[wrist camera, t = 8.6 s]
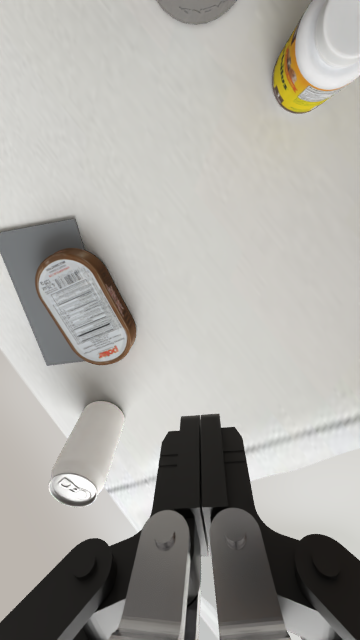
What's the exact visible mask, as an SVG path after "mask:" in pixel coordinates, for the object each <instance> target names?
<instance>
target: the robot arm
mask: <svg viewBox="0 0 360 640" xmlns="http://www.w3.org/2000/svg"><path fill="white" fill-rule="evenodd" d="M156 1H157V2H158V4H159V5H160V6H161V7H162V9H163V10H164V11H165V12H167V13H168V14H169V15H170V16H172V17H173V18H175V19H177V20H179V21H181V22H183V23H189V24H203V23H207V22H210V21H212V20H215V19H217V18H219V17H220V16H221V15H223V14H224V13H225V12H227V11H228V10H229V9H230V8H231V7H232V5H233V4H234V3H235V2H236V1H237V0H156ZM208 544H209V550H210V555H211V556H212V565H213V574H214V585H215V593H216V594H215V595H216V604H217V614H218V624H219V635H220V640H291V638H290V636H289V634H288V633H287V631H289V632H291V633H294V634H296V635H298V636H300V637H301V639H302V640H360V561H359V560H358V559H357V558H356V557H355V556H354V555H352V554H351V553H350V552H349V551H348V550H347V549H346V548H344V547H343V546H342V545H341V544H340V543H338V542H337V541H335V540H334V539H332V538H330V537H328V536H325V535H320V534H311V535H307V536H305V537H304V538H302V539H301V540H300V541H299V540H296V539H293V538H290V537H287V536H284V535H281V534H279V533H277V532H275V531H273V530H271V529H270V528H269V527H267V526H266V525H265V524H264V523H263V521H262V520H261V519H260V517H259V516H258V514H257V512H256V509H255V506H254V501H253V495H252V490H251V484H250V478H249V473H248V467H247V462H246V456H245V451H244V445H243V440H242V437H241V435H240V434H239V432H238V431H237V430H236V428H235V427H227V428H221V424H220V416H219V414H208V415H201V419H200V415H196V416H182V417H181V423H180V431H169V432H168V434H167V435H166V437H165V438H164V440H163V442H162V446H161V453H160V460H159V468H158V474H157V481H156V487H155V494H154V501H153V508H152V513H151V516H150V518H149V519H148V521H147V522H146V523H145V525H144V527H143V529H142V530H141V531H140V532H138V533H137V534H136V535H134V536H133V537H131V538H129V539H126V540H124V541H121V542H119V543H116V544H114V545H111V546H108V544H107V543H106V542H105V541H103V540H101V539H98V538H93V539H88V540H85V541H83V542H81V543H80V544H78V545H77V546H76V547H75V548H74V549H72V550H71V552H69V554H67V555H66V556H65V558H64V559H63V560H62V561H61V562H60V563H59V564H58V565H57V566H56V567H55V568H54V569H53V570H52V571H51V572H50V573H49V574H48V575H47V576H46V577H45V578H44V579H43V580H42V581H41V582H40V583H39V584H38V585H37V586H36V587H35V588H34V589H33V590H32V591H31V592H30V593H29V594H28V595H27V596H26V597H25V598H24V599H23V600H22V601H21V602H20V603H19V604H18V605H17V606H16V607H15V608H14V609H13V611H11V612H10V613H9V614H8V615H7V616H6V617H5V618H4V619H3V620H2V621H1V623H0V640H198V635H199V616H200V596H201V556H208Z"/></svg>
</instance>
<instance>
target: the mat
mask: <svg viewBox="0 0 360 640" xmlns="http://www.w3.org/2000/svg"><path fill="white" fill-rule="evenodd" d="M66 248H78V249H82V250H84V246H83V243H82V240H81V236H80V233H79V230H78V226H77V223H76V219H69V220H64V221H58V222H53V223H48V224H42V225H37V226H32V227H26V228H21V229H15V230H10V231H5V232H0V253H1V255H2V258H3V260H4V263H5V265H6V267H7V270H8V272H9V275H10V277H11V280H12V282H13V284H14V287H15V289H16V292H17V294H18V297H19V299H20V301H21V304H22V306H23V309H24V311H25V314H26V316H27V318H28V321H29V323H30V326H31V328H32V331H33V333H34V335H35V338H36V340H37V343H38V345H39V348H40V350H41V352H42V355H43V357H44V360H45V362H46V365H47V366H49V365H57V364H65V363H73V362H82V361H85V360H83V359H82V358H80V357H79V356H78V355H77V354H76V353H75V352H74V351H73V350H72V349H71V347H70V346H69V344H68V342H67V341H66V339H65V338H64V336H63V335H62V333H61V331H60V330H59V328H58V327H57V325H56V324H55V322H54V320H53V319H52V317H51V316H50V314H49V313H48V311H47V310H46V308H45V306H44V305H43V303H42V302H41V300H40V299H39V296H38V294H37V291H36V287H35V276H36V272H37V269H38V267H39V265H40V264H41V263H42V262H43V261H44V260H45V259H46V258H47V257H49V256H50V255H52V254H54V253H55V252H57V251H59V250H62V249H66Z"/></svg>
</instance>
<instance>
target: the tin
mask: <svg viewBox="0 0 360 640" xmlns="http://www.w3.org/2000/svg"><path fill="white" fill-rule="evenodd" d="M35 287H36V291H37V294H38V296H39V299H40V300H41V302H42V303H43V305H44V306H45V308H46V310H47V311H48V313H49V314H50V316H51V317H52V319H53V320H54V322H55V324H56V325H57V327H58V328H59V330H60V331H61V333H62V335H63V336H64V338H65V339H66V341H67V342H68V344H69V346H70V347H71V349H72V350H73V351H74V352H75V353H76V354H77V355H78V356H79V357H80V358H82V359H83V360H85V361H87V362H89V363H92V364H96V365H107V364H112V363H115V362H118V361H119V360H121V359H122V358H124V357H125V356H126V355H127V353H128V352H129V350H130V348H131V346H132V345H133V343H134V341H135V338H136V326H135V323H134V320H133V318H132V316H131V314H130V312H129V311H128V309H127V307H126V305H125V303H124V301H123V299H122V298H121V296H120V294H119V292H118V290H117V288H116V286H115V284H114V282H113V280H112V278H111V276H110V274H109V272H108V270H107V269H106V267H105V266H104V264H103V263H102V262H101V261H100V260H99V259H98V258H97V257H96V256H95V255H93V254H91V253H90V252H88V251H85V250H82V249H78V248H66V249H62V250H59V251H57V252H55V253H54V254H52V255H50V256H49V257H47V258H46V259H45V260H44V261H43V262H42V263H41V264H40V265H39V267H38V269H37V272H36V276H35Z"/></svg>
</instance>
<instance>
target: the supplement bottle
mask: <svg viewBox="0 0 360 640" xmlns="http://www.w3.org/2000/svg"><path fill="white" fill-rule="evenodd" d="M358 76H360V0H312V2H311V3H310V5H309V6H308V7H307V9H306V11H305V12H304V14H303V16H302V18H301V19H300V21H299V23H298V25H297V26H296V28H295V30H294V31H293V33H292V35H291V36H290V38H289V40H288V42H287V43H286V45H285V47H284V48H283V50H282V52H281V54H280V55H279V57H278V59H277V62H276V64H275V67H274V70H273V75H272V89H273V94H274V97H275V99H276V101H277V103H278V104H279V106H280V107H281V108H283V109H284V110H285V111H287V112H289V113H293V114H303V113H307V112H309V111H311V110H313V109H315V108H316V107H318V106H319V105H321V104H322V103H323V102H325V101H326V100H327V99H329V98H330V97H332V96H333V95H335V94H336V93H337V92H339V91H340V90H341V89H343V88H344V87H345V86H347V85H348V84H350V83H351V82H352V81H354V80H355V79H356V78H357V77H358Z"/></svg>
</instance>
